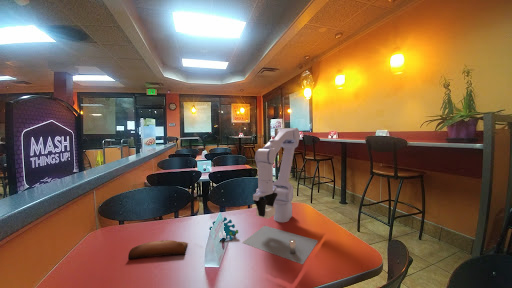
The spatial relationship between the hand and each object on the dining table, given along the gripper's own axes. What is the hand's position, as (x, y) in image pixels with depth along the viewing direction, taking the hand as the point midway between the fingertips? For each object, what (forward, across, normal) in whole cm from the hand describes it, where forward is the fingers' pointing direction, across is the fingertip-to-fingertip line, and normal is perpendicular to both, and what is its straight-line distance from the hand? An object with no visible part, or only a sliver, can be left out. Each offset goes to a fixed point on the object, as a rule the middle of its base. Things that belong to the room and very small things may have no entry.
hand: (265, 213), depth 81 cm
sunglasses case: (+10, +29, -25) cm, 40 cm away
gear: (+9, +12, -12) cm, 19 cm away
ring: (+1, 0, 0) cm, 1 cm away
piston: (+9, +7, +14) cm, 18 cm away
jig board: (+9, +3, +8) cm, 12 cm away
